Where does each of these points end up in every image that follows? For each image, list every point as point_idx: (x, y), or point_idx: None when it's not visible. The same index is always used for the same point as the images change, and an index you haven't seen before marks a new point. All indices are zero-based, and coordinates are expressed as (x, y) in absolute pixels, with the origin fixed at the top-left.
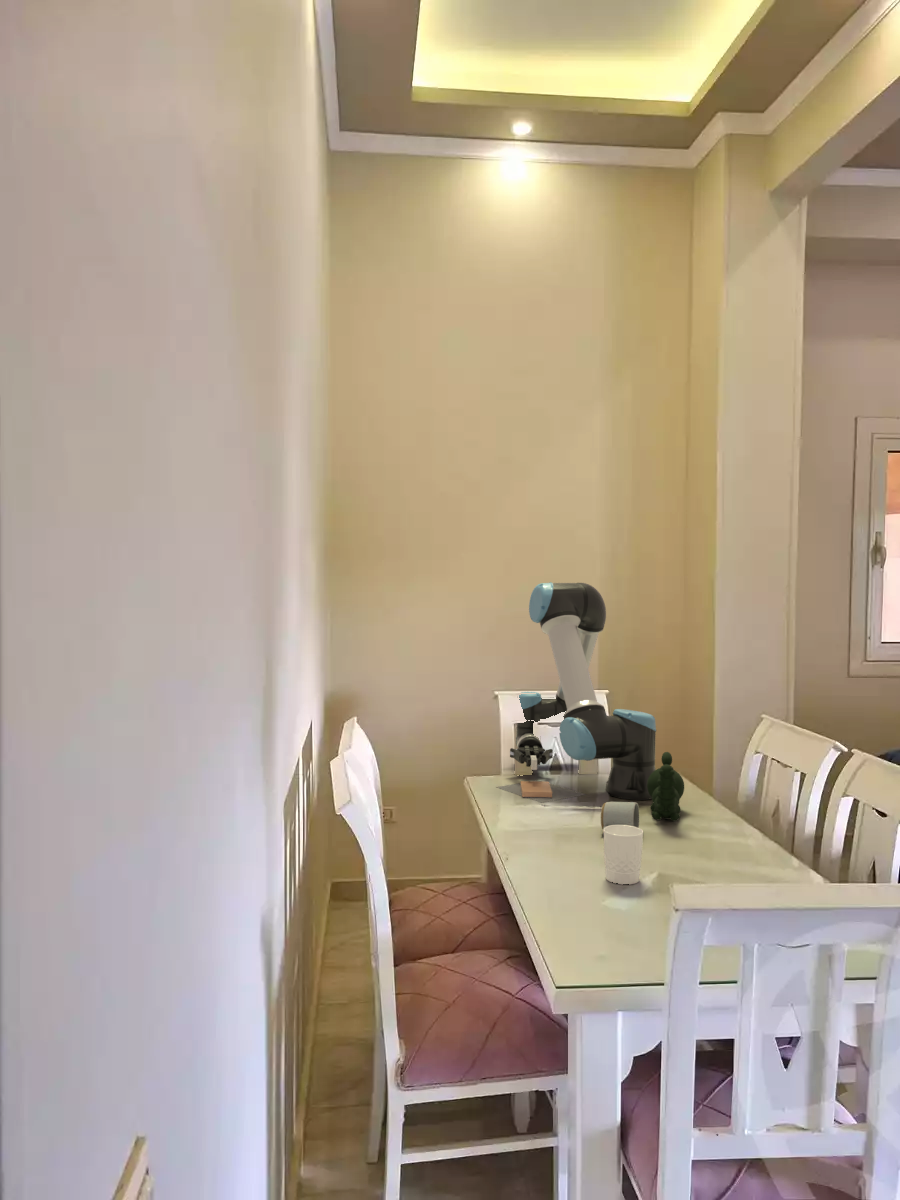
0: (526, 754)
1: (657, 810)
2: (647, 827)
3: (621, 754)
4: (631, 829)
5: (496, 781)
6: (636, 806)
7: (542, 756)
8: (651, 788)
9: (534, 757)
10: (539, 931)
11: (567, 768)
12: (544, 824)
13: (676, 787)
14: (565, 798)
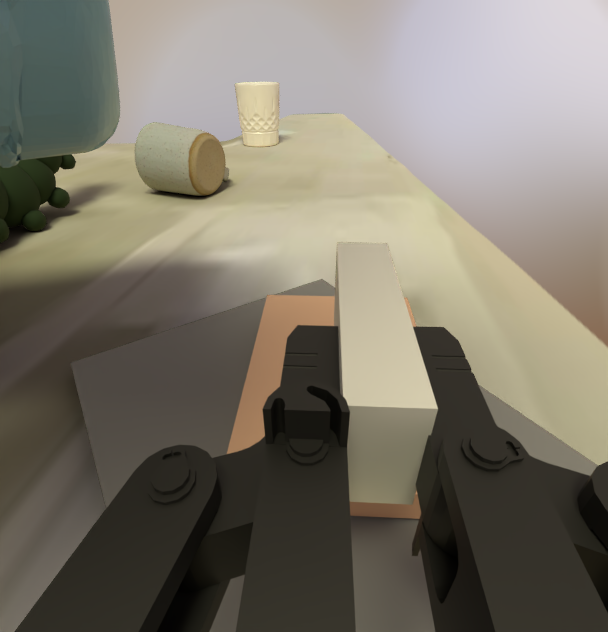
0: (564, 539)
1: (55, 184)
2: (110, 205)
3: None
4: (242, 88)
5: None
6: (141, 139)
7: (210, 467)
8: None
9: (363, 308)
10: (350, 123)
11: None
12: (328, 209)
13: None
14: (210, 316)
